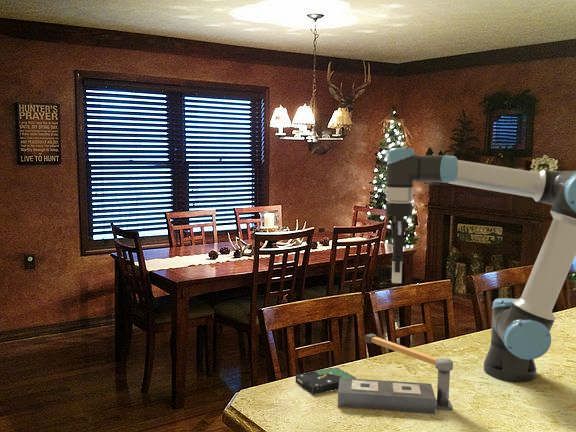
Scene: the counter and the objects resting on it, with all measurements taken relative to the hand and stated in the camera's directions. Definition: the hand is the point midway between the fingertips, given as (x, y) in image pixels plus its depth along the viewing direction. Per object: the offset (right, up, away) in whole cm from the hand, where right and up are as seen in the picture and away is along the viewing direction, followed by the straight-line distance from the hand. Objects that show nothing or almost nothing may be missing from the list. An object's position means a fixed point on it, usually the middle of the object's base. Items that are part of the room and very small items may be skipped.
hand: (396, 282), depth 160 cm
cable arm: (+2, -20, -6) cm, 21 cm away
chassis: (-6, -31, -13) cm, 34 cm away
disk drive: (-21, -30, 0) cm, 36 cm away
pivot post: (+9, -31, -15) cm, 36 cm away
